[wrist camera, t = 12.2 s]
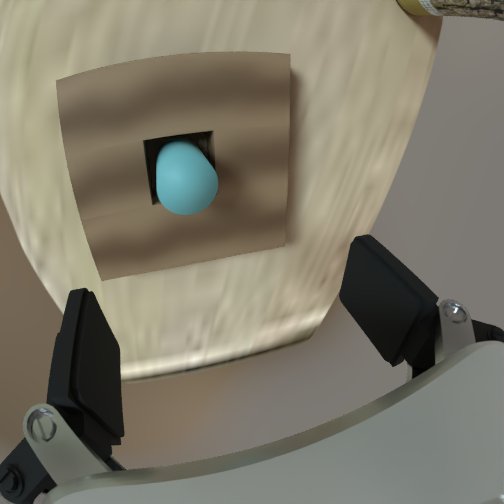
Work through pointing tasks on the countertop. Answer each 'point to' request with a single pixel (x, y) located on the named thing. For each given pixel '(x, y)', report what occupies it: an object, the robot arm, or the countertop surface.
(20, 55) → the countertop surface
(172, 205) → the dowel peg
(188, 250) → the socket block
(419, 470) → the robot arm
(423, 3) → the bark patterned cylinder
